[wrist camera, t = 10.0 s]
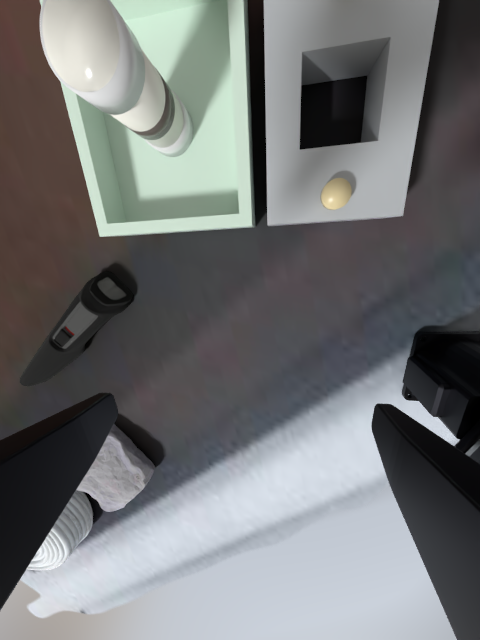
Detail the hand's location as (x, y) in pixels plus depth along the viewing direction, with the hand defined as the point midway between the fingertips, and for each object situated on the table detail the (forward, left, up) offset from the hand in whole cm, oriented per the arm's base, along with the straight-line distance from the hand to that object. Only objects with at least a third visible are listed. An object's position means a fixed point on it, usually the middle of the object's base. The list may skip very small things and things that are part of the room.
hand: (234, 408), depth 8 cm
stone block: (+19, +19, -14) cm, 30 cm away
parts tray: (+5, -12, -13) cm, 19 cm away
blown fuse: (+5, -12, -12) cm, 18 cm away
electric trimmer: (+18, +3, -14) cm, 23 cm away
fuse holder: (-5, -12, -13) cm, 18 cm away
